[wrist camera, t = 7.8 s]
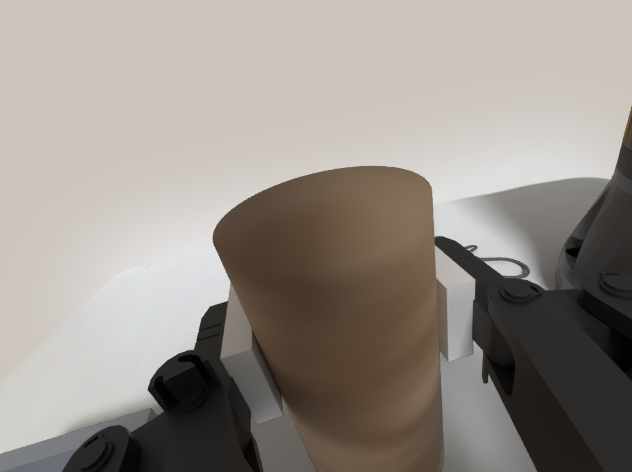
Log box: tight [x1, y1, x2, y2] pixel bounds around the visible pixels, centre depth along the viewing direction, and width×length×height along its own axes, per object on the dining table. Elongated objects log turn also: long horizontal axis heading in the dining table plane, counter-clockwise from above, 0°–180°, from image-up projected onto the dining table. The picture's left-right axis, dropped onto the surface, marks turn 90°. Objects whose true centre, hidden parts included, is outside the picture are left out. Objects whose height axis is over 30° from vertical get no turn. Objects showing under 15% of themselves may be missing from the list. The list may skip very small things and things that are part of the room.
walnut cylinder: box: [213, 166, 444, 472], centre depth 9 cm, size 5×5×10 cm
